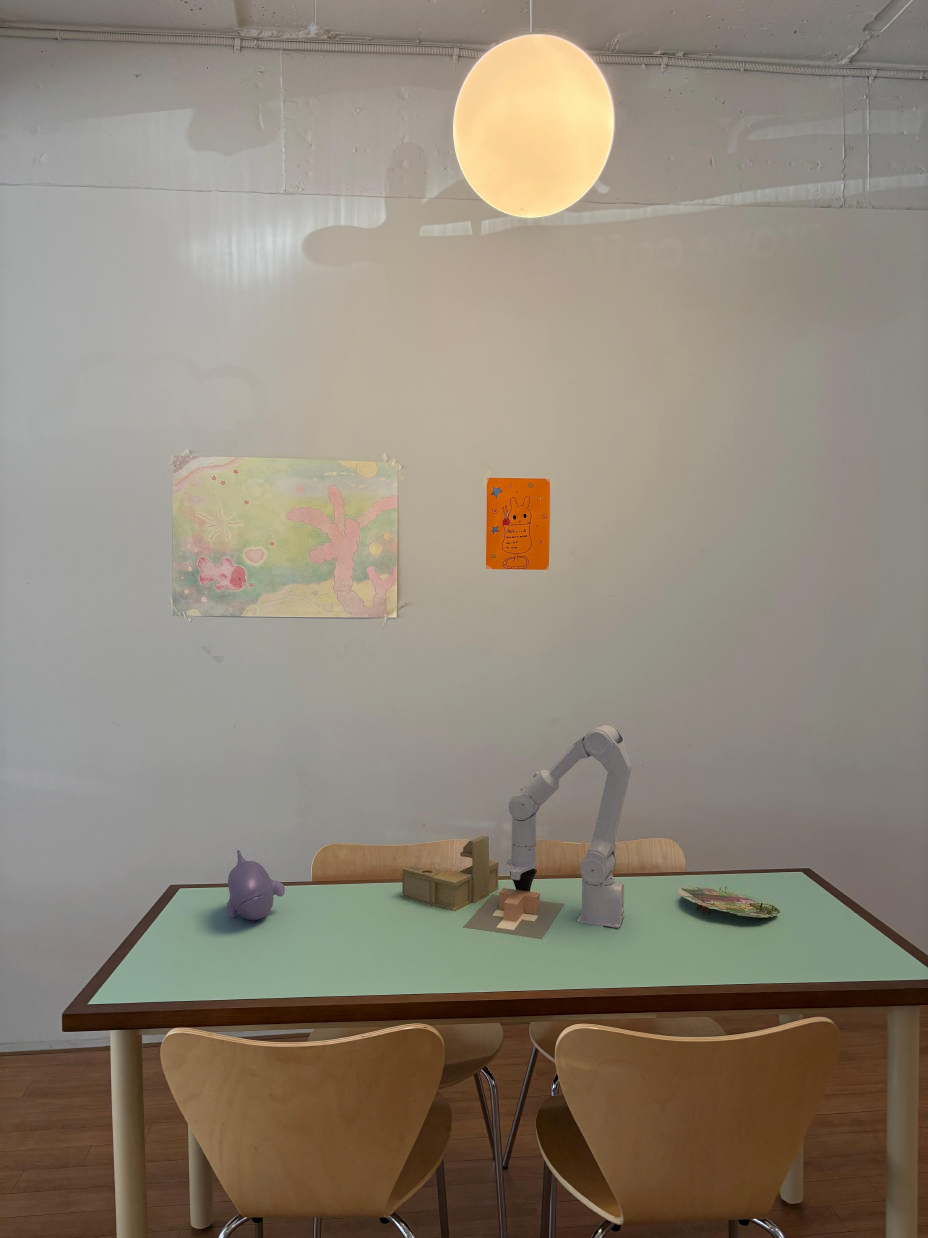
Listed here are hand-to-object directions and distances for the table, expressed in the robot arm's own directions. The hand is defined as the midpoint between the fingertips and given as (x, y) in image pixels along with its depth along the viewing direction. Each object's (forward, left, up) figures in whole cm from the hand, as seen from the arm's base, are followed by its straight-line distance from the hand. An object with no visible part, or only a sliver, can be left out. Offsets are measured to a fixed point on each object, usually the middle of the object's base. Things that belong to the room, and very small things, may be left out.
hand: (523, 901), depth 196 cm
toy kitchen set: (+19, -2, -2) cm, 19 cm away
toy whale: (+57, +25, -2) cm, 62 cm away
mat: (0, +7, -1) cm, 7 cm away
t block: (0, +6, -1) cm, 6 cm away
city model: (-46, -16, -2) cm, 49 cm away
